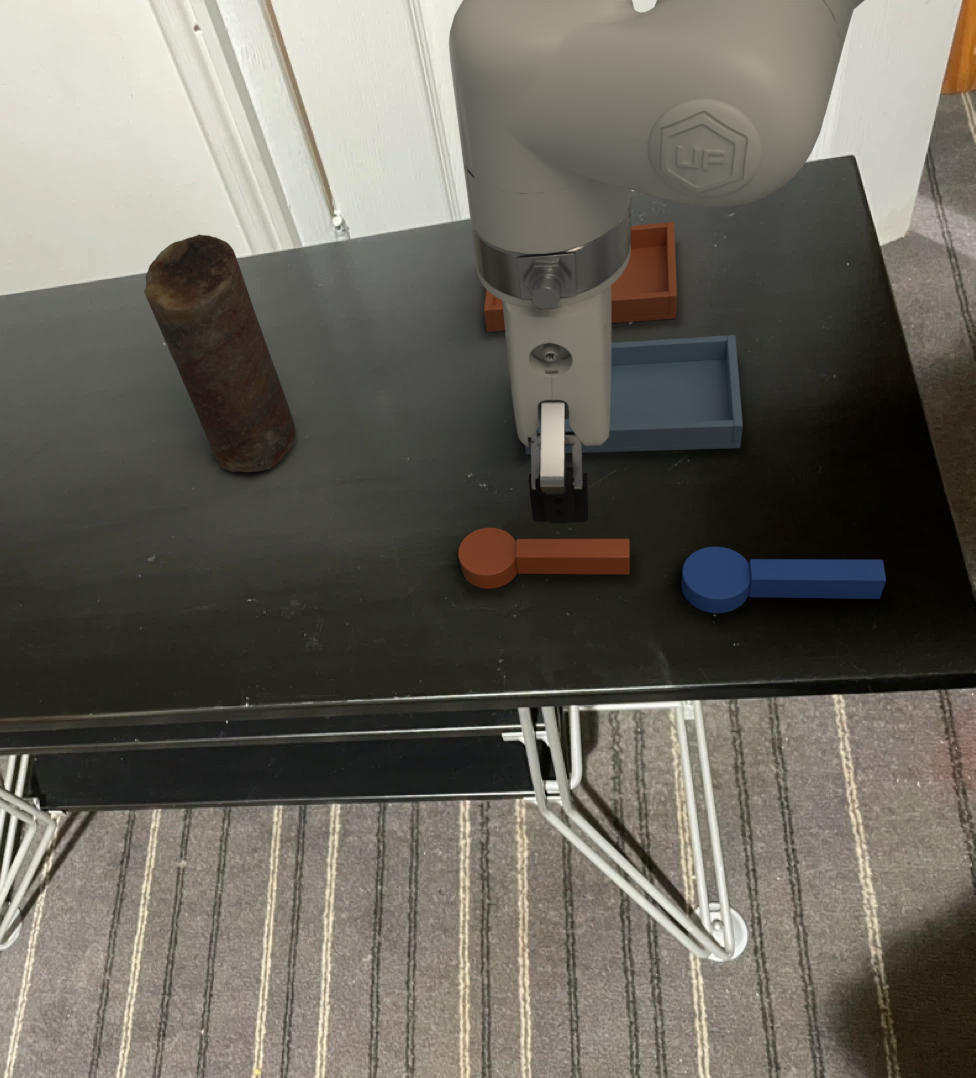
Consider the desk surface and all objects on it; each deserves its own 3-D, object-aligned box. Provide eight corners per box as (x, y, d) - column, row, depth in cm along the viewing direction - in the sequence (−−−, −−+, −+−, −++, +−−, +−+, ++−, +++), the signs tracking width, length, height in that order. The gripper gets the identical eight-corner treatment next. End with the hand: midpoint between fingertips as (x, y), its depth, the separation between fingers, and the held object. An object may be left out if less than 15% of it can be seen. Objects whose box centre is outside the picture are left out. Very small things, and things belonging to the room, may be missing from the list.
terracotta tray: (673, 245, 90) (674, 221, 88) (676, 318, 85) (677, 295, 83) (494, 261, 95) (491, 239, 93) (487, 332, 90) (483, 310, 88)
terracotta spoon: (629, 541, 74) (629, 522, 72) (629, 590, 71) (629, 573, 70) (463, 541, 78) (460, 524, 76) (458, 588, 75) (454, 571, 74)
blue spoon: (874, 561, 68) (880, 542, 66) (882, 616, 65) (889, 598, 64) (680, 561, 72) (681, 542, 70) (682, 613, 69) (683, 595, 68)
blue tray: (733, 358, 81) (735, 334, 79) (740, 448, 76) (742, 425, 74) (531, 369, 86) (529, 347, 84) (526, 454, 81) (523, 433, 79)
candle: (313, 419, 89) (247, 232, 74) (287, 485, 86) (212, 303, 71) (233, 414, 93) (155, 234, 77) (206, 478, 89) (117, 302, 74)
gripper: (631, 355, 45) (627, 571, 59) (630, 121, 55) (627, 352, 68) (459, 364, 48) (492, 569, 61) (486, 138, 57) (510, 358, 71)
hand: (563, 455), depth 65 cm, fingers open, 9 cm apart
